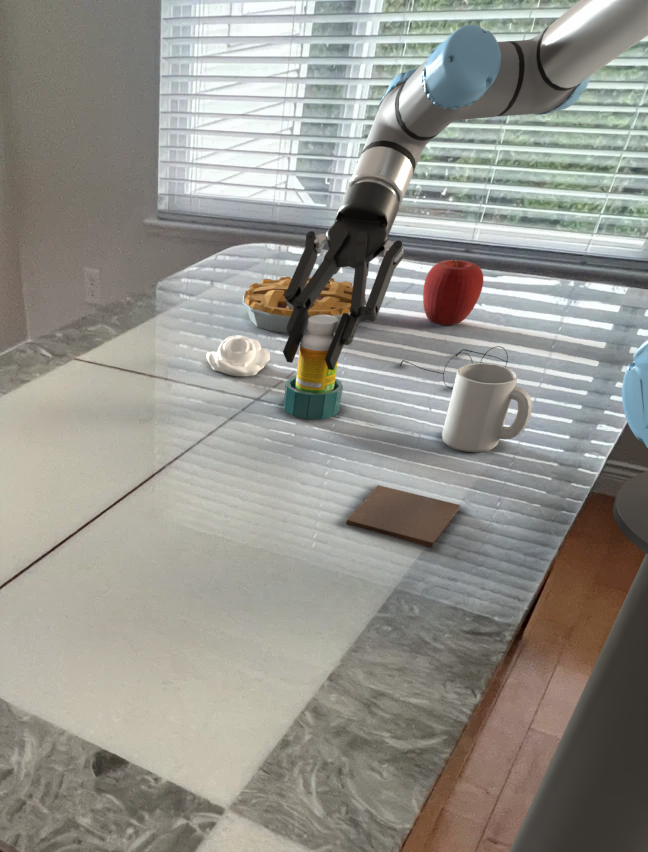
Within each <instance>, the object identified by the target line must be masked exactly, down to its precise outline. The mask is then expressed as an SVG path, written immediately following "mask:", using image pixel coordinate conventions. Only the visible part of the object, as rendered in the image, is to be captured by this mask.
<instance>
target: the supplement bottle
mask: <svg viewBox="0 0 648 852" xmlns="http://www.w3.org/2000/svg"><path fill="white" fill-rule="evenodd" d="M337 327H338V318H336V317H334V316H330V315H314V316H311V317H309V319H308V325H307V330H308V331H309V332H308V333H306V334H304V335H303V337H302V339H301V342H300V345H299V353H298V360H297V368H296V369H297V370H296V376H297V377H296V386H295V389H296V390H298V391H301V392H306V393H326V392H331V391H333V390H334V385H335V379H337V378H336V376H337V372H338V371H337V370H338V363H339V359H338V360H337V363H336V365H335V368H334V370H329V369H328V367H327V364H326V361H325V357H326V355H327V352H328V350H329V347H330V345H331V342H332V340H333V337H334V335H335V332H336V330H337Z"/></svg>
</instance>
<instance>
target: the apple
mask: <svg viewBox="0 0 648 852" xmlns="http://www.w3.org/2000/svg"><path fill="white" fill-rule="evenodd" d="M483 287H484V274H483V271H482V269H481V268H480V266H479V265H478V264H477V263H474V262H471V261H467V260H460V259H459V260H458V259H454V258H453V259H448V260H441V261H439V262H437V263H436V264H434V265H433V266H431V268H430V269H429V271H428V272H427V274H426V277H425V279H424V284H423V292H422V295H423V296H422V300H423V301H422V302H423V311H424V314H425V316H426V318H427V319H428V321H429V322H431V323H432V324H434V325H435V324H436V325H441V326H453V325H458V324H460V323H462V321H465V319H466V318H467V317H468V316H469V315H470V314H471V312H472V311H473V309H474V308H475V306H476V304H477V303H478V301H479V298H480V296H481V293H482V290H483Z"/></svg>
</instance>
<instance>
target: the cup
mask: <svg viewBox="0 0 648 852" xmlns="http://www.w3.org/2000/svg"><path fill="white" fill-rule="evenodd" d="M518 378H519V375H518V372H516V371H515V370H514V369H511V368H510V367H507V366H506V367H505V366H504V365H500V364H495V363H487V362H486V363H485V362H484V363H482V362H481V363H480V362H478V363H477V362H476V363H473V364H472V363H469V364H468V363H467V364H464V365H462V366H459V368H458V369H457V372H456V375H455V380H454V384H453V387H452V388H453V389H452V392H451V395H450V399H449V404H448V408H447V411H446V412H447V413H446V415H445V419H444V424H443V428H442V433H441V438H442V441H443V443H444V444H445V445H446V446H448V447H449V448H452V449H455V450H458V451H461V452H467V453H484V452H488V451H491V450H493V449H494V448H495V447H496V446H497V445H499V441H500V440H512V439H514V438H516V437H518V436H519V435H520V434H521V433H522V432H523V431H524V430H525V429H526V427H527V426H528V424H529V421H530V419H531V415H532V409H533V402H532V397H531V395H529V393H528V391H527V390H526V389H524V388H522V387H520V386H516V385H517V381H518ZM512 400H513V401H516V402H517V412H516V415H515V417H514V421H513V422H512V423H511V425H510V426H504V425H505V422H506V418H507V415H508V412H509V410H510V406H511V402H512Z"/></svg>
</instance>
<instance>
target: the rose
mask: <svg viewBox="0 0 648 852" xmlns="http://www.w3.org/2000/svg"><path fill="white" fill-rule="evenodd" d="M261 345H262V344H261V343H260V342H259V341H258V340H257V339H254V338H250V337H247V336H245V335H242V334H241V335H240V334H237V335H229V336H228V337H226V338H225V339H224V340H222V342H221V343H220V345H219V346H218V348H217V351H209V352H207V353H206V360H207V362H208V364H209V365H210V367H211V369H213V371H216V372H220V373H223V374H225V375H229V376H232V377H252V376H255V375H257V374H258V372H260V371H261V370H262V369H264V368H265V366H266V364H267V363H268V362H270V359H271V354H270V351H268V350H267V349H266V348H262V346H261Z"/></svg>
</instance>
